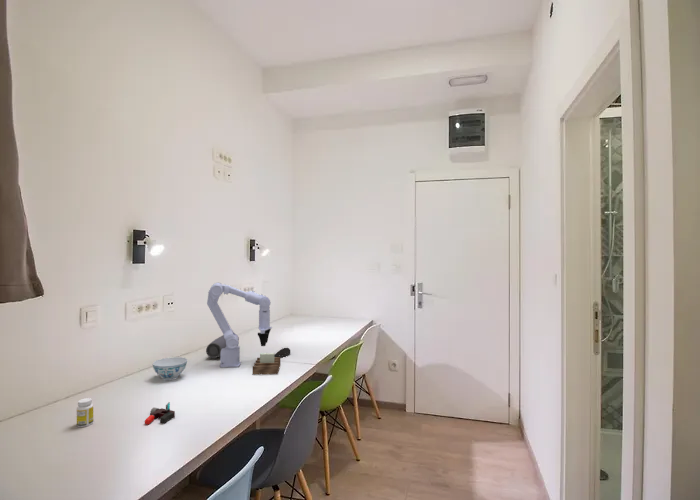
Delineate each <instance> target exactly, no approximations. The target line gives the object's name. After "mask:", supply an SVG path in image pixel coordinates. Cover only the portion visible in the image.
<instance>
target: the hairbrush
mask: <svg viewBox="0 0 700 500" xmlns="http://www.w3.org/2000/svg"><path fill="white" fill-rule="evenodd" d="M290 355H291V349H290V348H289V347H284V346H283V347H281V348H280V349H278V350H276V352H275V353H274V357H280V359H283V357H285V358H287V357H289V356H290ZM286 356H287V357H286Z"/></svg>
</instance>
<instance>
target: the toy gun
mask: <svg viewBox="0 0 700 500" xmlns="http://www.w3.org/2000/svg"><path fill="white" fill-rule="evenodd" d="M175 412H176V411H175V410H171V402H169V401H168V403H166V404H165V408H162V407H161V408H159V407H152V408H151V409H150V412H149V416H148V417H147V418H145V420H144V424H145V425H150V424H151V423H152V422H153V421H154V420H157V419H159V424H163V425H164V424H166V423H167V422H169V421H170V420H172V419H175V416H176V413H175Z"/></svg>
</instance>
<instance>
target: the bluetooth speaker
mask: <svg viewBox="0 0 700 500" xmlns="http://www.w3.org/2000/svg"><path fill="white" fill-rule="evenodd" d="M225 347H226V340H225V338H224V335H223V334H222V335H221V336H218V337H217V338H216V339H214V340H213V341H211V342H210V343H209V344H208V345H207V346H206V350H205V352H206V356H208V357H209V358H211V359H216V358H220V354H221V349H222V348H225Z"/></svg>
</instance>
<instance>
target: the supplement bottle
mask: <svg viewBox="0 0 700 500" xmlns="http://www.w3.org/2000/svg"><path fill="white" fill-rule="evenodd" d="M92 424H94V404H93V399H92V398H91V397H85V398H81V399H80V400H78V401H77V407H76V426H77V427H78V428H86V427H89V426H91V425H92Z"/></svg>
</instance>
